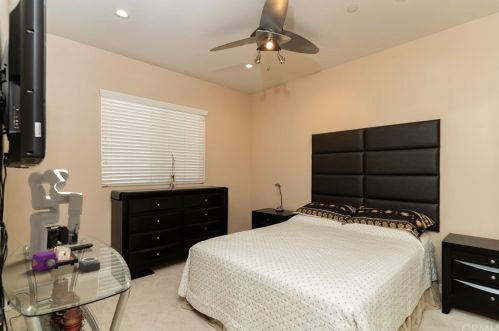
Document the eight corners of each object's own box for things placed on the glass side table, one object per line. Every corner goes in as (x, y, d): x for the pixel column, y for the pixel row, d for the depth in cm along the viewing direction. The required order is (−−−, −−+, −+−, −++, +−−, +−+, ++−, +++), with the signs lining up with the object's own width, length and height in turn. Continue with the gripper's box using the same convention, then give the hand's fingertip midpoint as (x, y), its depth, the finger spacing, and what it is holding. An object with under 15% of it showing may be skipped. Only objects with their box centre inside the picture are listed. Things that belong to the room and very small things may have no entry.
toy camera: (46, 273, 158) (47, 256, 158) (27, 270, 160) (28, 254, 161) (62, 267, 168) (63, 251, 169) (44, 264, 171) (45, 249, 171)
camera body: (78, 267, 169) (78, 258, 169) (94, 264, 176) (94, 255, 176) (83, 272, 161) (84, 262, 161) (100, 268, 167) (100, 259, 168)
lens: (67, 243, 168) (67, 230, 168) (76, 242, 172) (77, 229, 172) (69, 245, 164) (70, 231, 165) (78, 244, 168) (79, 230, 168)
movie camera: (45, 251, 197) (47, 227, 199) (30, 249, 203) (31, 226, 205) (84, 243, 226) (85, 222, 228) (69, 242, 232) (70, 221, 234)
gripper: (64, 211, 172) (62, 239, 171) (71, 214, 160) (69, 244, 159) (78, 210, 177) (76, 237, 177) (85, 213, 166) (83, 242, 165)
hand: (73, 240), depth 168 cm, fingers closed on lens, 5 cm apart
